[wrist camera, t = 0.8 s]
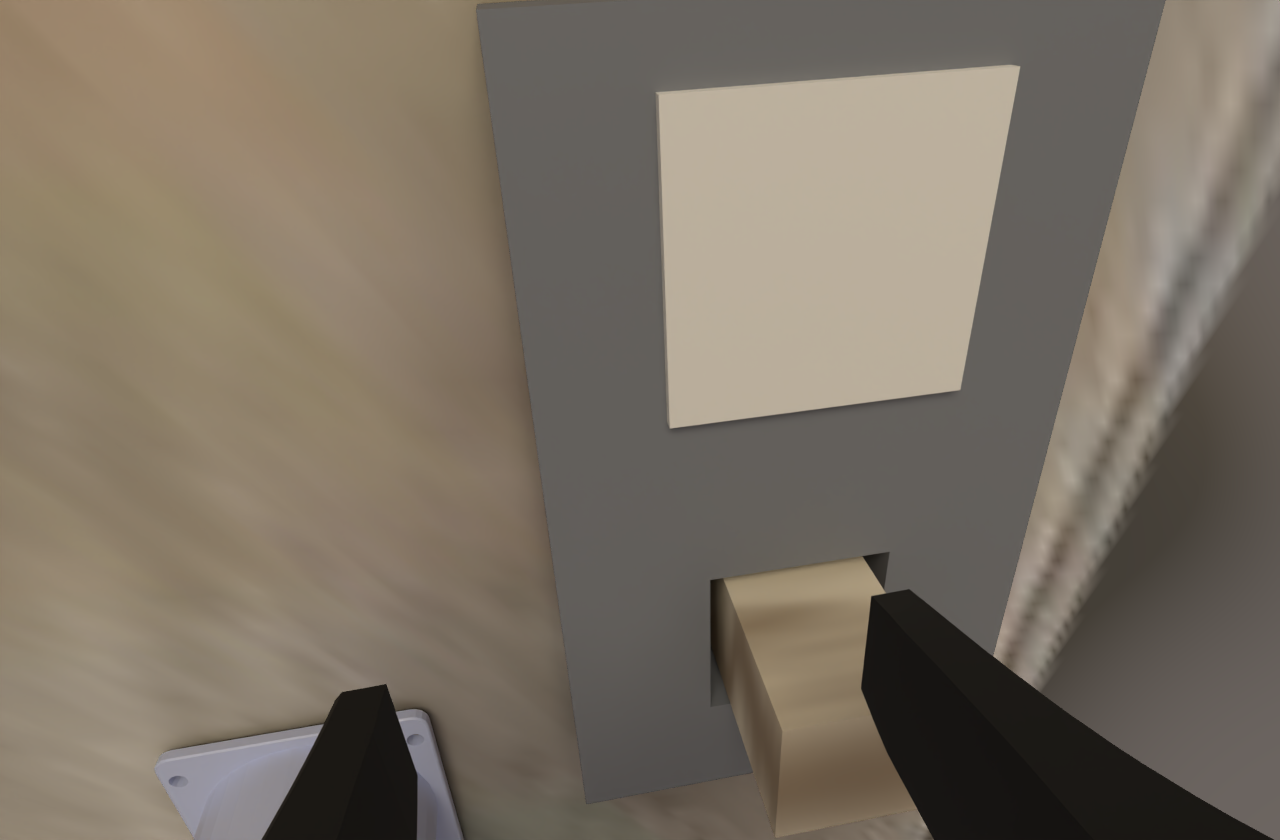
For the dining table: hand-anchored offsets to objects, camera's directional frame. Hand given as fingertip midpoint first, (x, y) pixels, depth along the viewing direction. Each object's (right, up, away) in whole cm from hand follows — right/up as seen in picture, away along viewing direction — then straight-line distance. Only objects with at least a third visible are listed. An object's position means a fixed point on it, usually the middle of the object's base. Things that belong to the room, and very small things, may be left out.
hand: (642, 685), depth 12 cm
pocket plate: (+4, +3, +10) cm, 11 cm away
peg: (+4, -1, +13) cm, 13 cm away
